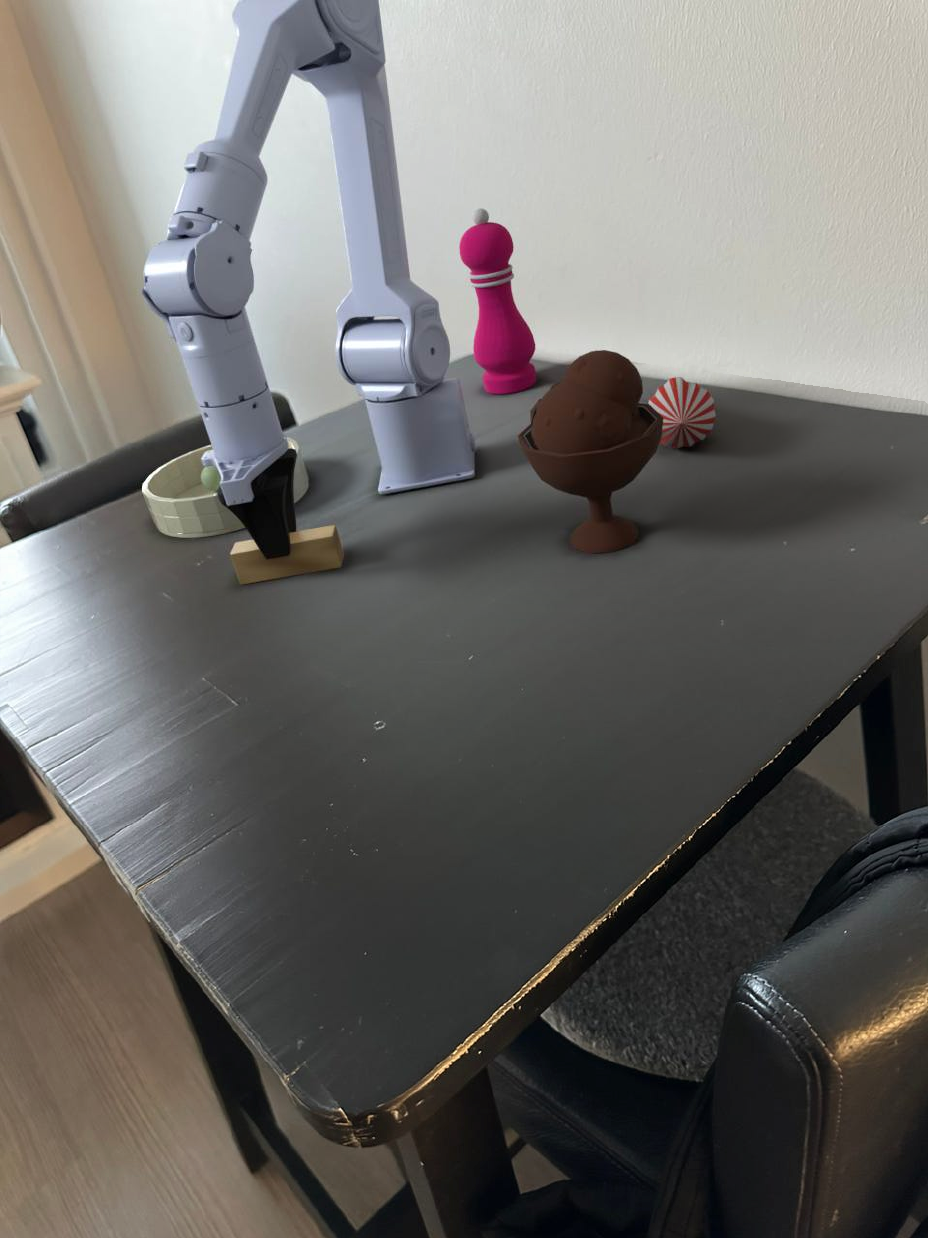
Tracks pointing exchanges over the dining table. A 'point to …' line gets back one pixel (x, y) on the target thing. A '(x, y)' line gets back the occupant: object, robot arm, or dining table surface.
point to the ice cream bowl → (594, 442)
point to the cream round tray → (198, 497)
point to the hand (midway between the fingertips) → (281, 546)
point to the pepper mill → (497, 309)
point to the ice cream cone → (683, 412)
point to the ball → (211, 478)
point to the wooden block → (306, 556)
